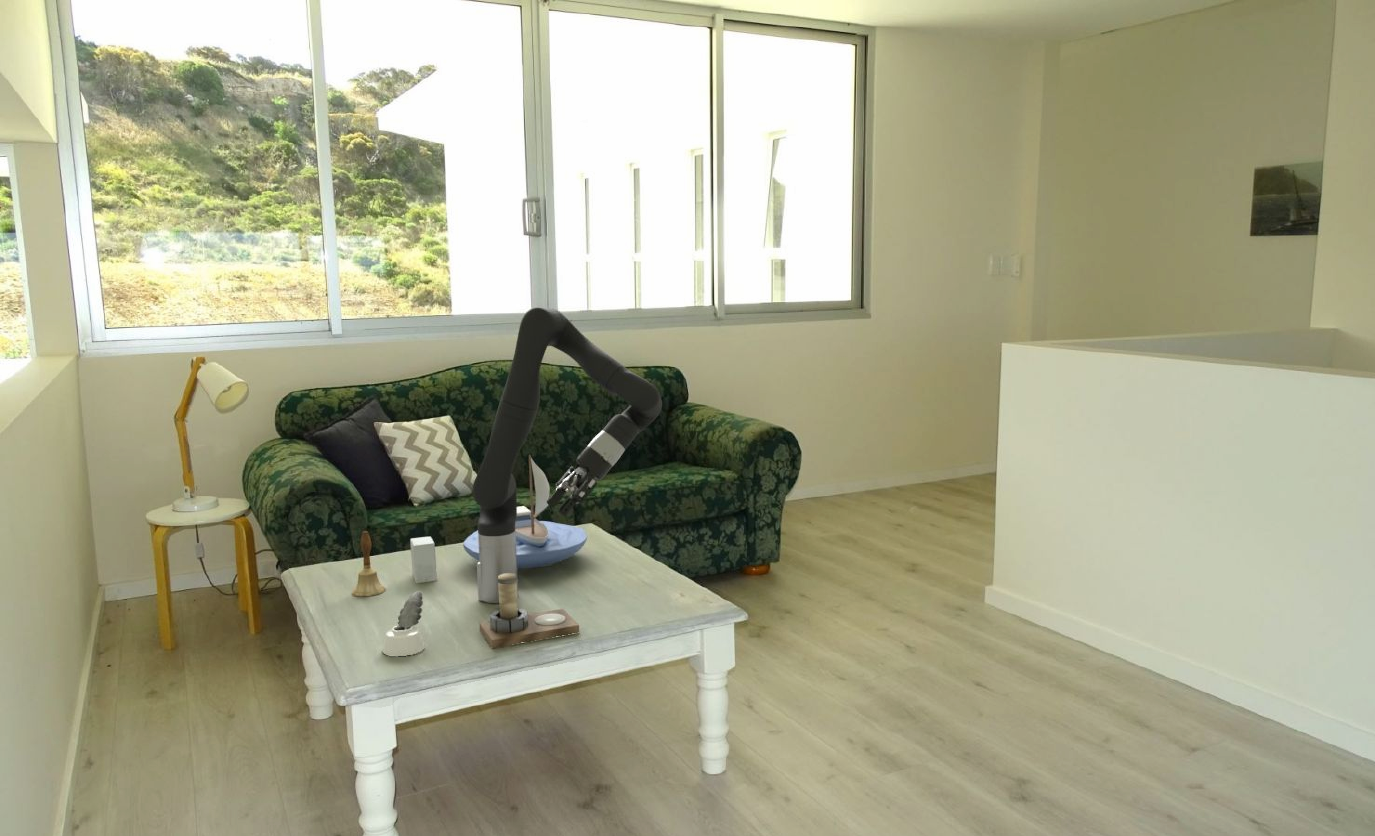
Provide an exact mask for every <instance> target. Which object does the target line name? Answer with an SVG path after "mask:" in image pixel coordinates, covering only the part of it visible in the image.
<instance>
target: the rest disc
mask: <svg viewBox="0 0 1375 836" xmlns="http://www.w3.org/2000/svg"><path fill="white" fill-rule="evenodd" d="M564 621H565V616H563V615H560V614H544V615H541V616H538V617H536V618H535V623H536V624H538V625H543V626H552V625H557V624H561V623H563V622H564Z"/></svg>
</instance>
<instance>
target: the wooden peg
mask: <svg viewBox="0 0 1375 836" xmlns="http://www.w3.org/2000/svg"><path fill="white" fill-rule="evenodd" d="M516 581H517V579H516V575H515V574H512V573H506V574H501V575H499V576H498V586H499V603H498V604H499V610H500V619H512V618H516V617H518V609H519V607H518V598H517V584H516Z"/></svg>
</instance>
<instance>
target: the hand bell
mask: <svg viewBox="0 0 1375 836" xmlns="http://www.w3.org/2000/svg"><path fill="white" fill-rule="evenodd" d="M360 537H361V538H360V550H361V552H362V557H363V569H361V570H359V572H358V578H357V584H356V585H355V588H354V589H352V592H351V594H352V595H353V596H356V597H371V596H377V595H380V594H382V593H384V592H385V591H386V589H387V588H386V587H385V586H384V585H383V584H382V583H381V581H380V580H379V577H378V574H377V570H376V569H373V568H372V567H371V557H370V555H371V551H372V540H371V537H370V535H369V531H367V530H363V531H362V534H361V536H360Z"/></svg>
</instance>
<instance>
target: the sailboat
mask: <svg viewBox="0 0 1375 836" xmlns="http://www.w3.org/2000/svg"><path fill="white" fill-rule="evenodd" d="M528 465H529V466H528V468H529V470H528V471H529V498H530V499H529V500H530V502H529V503H530V509H528V508H527V507H526V506H524V505H522V506H517V517H516V522H515V532H516V554H517V570H518V569H519V570H520V569H521V570H522V569H523V570H524V569H525V570H526V569H534V568H535V569H536V568H542V567H546V566H550V565H553V564H557V563H560V562H563V561H564V560H567V559H569V558H571V557H572V556H574V555H575V554H577V553H578V552H579V551H580V550H581V549H582V548H583V546H584V545H585V544H586V542H587V539H588V535H587V533H586V530H585V529H583V528H581V527H578V526H575V525H570V524H564V523H559V522H553V521H545V520H538V519H537V517H538V516H539V515H540V514H541V513H542V512H543V511H545V509H547V507H549V505H548V504H547V500H548V499H549V498H550V483H549V481H548V479H547V476H546V474H545V472H544V471H543V470H542V469H541V468H540V467H539V466H538V465H537V464H536V463H535V461H534V460H533V458H532V456H531V454H529V455H528ZM532 474H533V475H532ZM532 477H533V478H532ZM533 480H534V490H535V508H534V496H533V495H534V494H533V492H534V491H533ZM462 547H463V549H464V551H465V552H466V553H467V554H468V555H469V556H471V557H472V559H474V560H476V561H478V562H480V561H479V542H478V529H477V530H476V531H474V532H473V533H472V534H470V535H469V536H468V537H467V538H465V540H464V541H463V542H462Z"/></svg>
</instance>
